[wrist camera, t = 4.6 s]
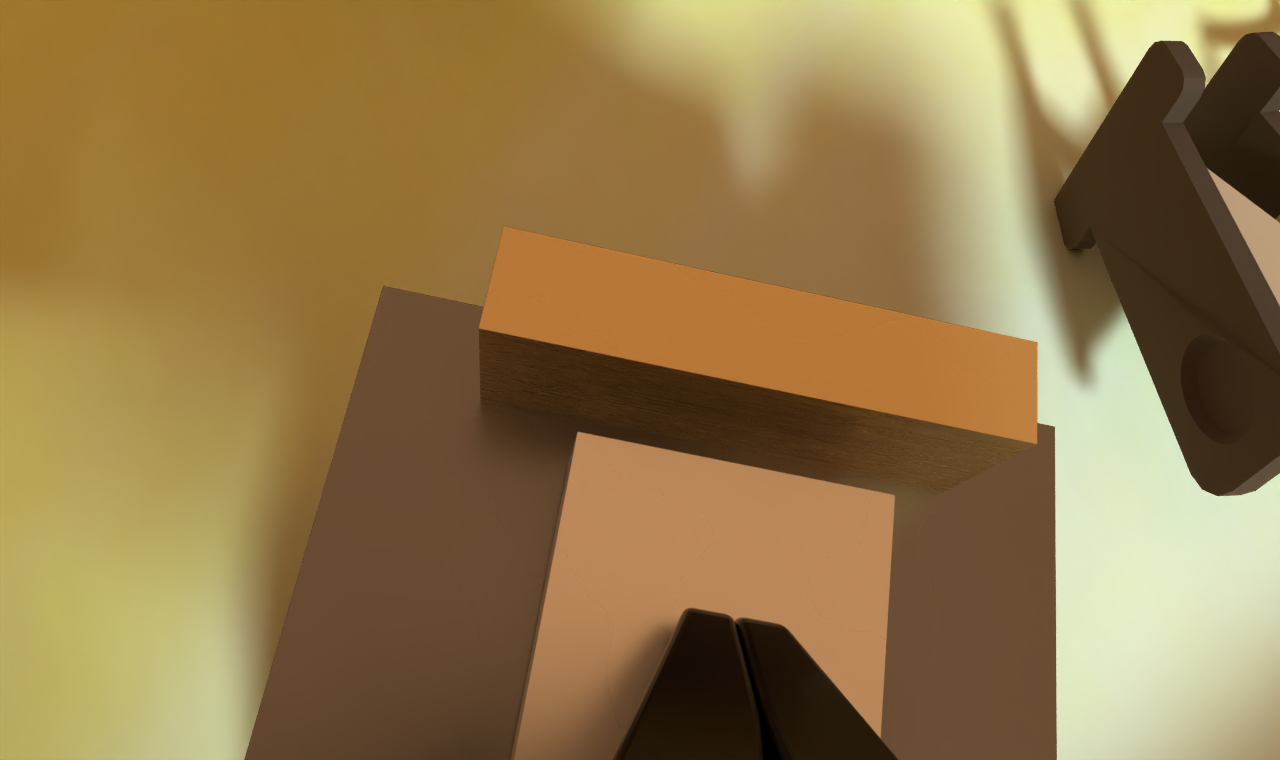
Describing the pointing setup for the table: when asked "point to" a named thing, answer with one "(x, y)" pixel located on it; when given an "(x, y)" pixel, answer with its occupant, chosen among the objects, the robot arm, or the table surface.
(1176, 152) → the clip-on lamp
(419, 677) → the dark grey box
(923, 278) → the table surface
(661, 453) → the tan flat block
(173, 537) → the table surface
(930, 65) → the table surface
